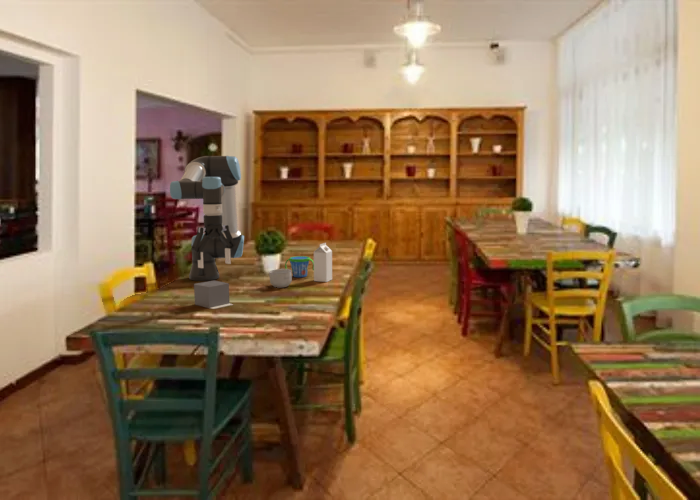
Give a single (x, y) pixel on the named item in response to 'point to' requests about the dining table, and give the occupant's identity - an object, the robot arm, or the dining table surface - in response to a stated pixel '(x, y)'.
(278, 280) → the teacup
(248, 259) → the dining table surface
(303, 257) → the snack cup
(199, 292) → the grey block
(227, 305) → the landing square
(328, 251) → the milk carton
